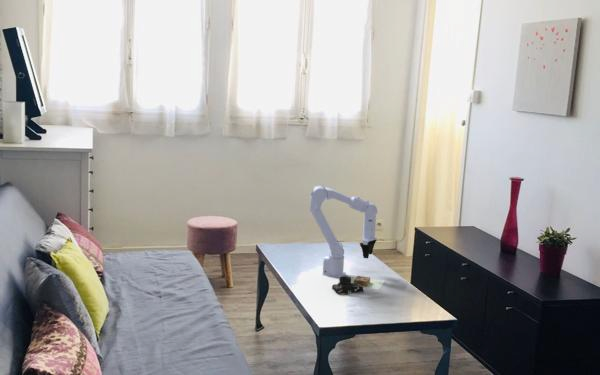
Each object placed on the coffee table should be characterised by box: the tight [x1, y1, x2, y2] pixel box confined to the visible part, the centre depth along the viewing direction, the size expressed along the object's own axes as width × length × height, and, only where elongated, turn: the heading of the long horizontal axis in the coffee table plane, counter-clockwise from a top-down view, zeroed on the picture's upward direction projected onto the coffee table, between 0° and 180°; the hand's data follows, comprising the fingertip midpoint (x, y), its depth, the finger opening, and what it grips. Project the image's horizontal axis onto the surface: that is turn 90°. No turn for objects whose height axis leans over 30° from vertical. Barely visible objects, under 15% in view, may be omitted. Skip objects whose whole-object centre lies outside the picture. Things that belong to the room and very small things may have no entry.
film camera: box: [331, 275, 364, 295], centre depth 281 cm, size 13×8×10 cm
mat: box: [346, 275, 386, 291], centre depth 292 cm, size 18×14×1 cm
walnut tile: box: [354, 275, 371, 287], centre depth 290 cm, size 6×2×7 cm
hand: (367, 256), depth 302 cm, fingers open, 7 cm apart
